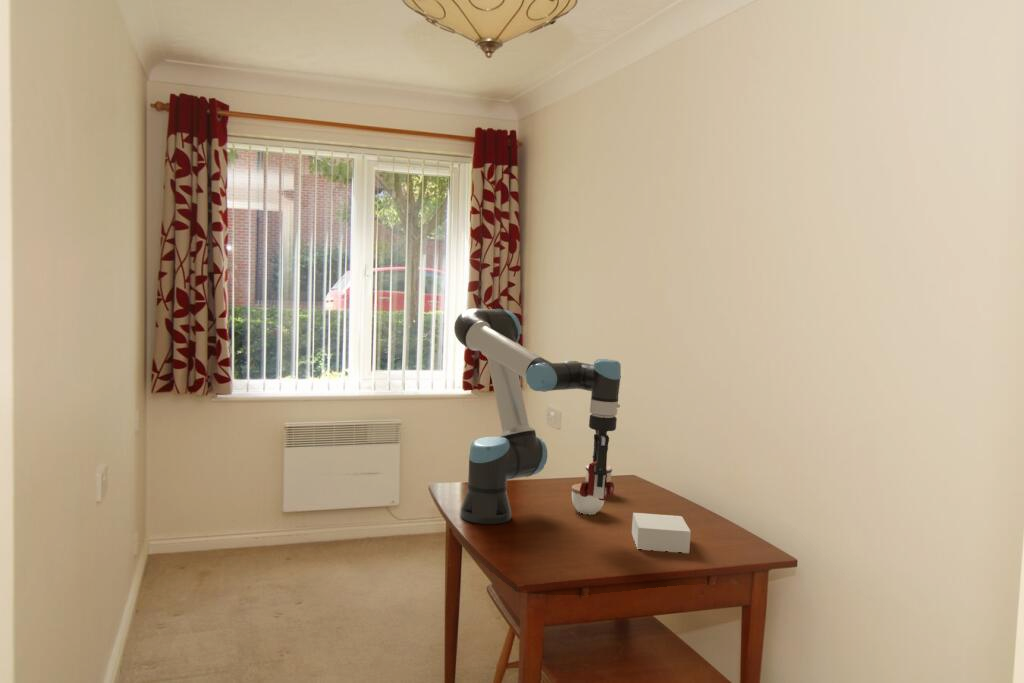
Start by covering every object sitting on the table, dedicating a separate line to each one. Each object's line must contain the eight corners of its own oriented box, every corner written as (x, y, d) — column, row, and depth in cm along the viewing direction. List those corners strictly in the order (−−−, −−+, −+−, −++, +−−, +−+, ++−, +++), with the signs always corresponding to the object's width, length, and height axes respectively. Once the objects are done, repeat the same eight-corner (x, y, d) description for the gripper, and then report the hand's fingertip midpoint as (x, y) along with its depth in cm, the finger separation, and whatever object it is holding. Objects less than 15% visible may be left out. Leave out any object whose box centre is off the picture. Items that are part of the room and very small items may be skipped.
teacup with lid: (589, 488, 265) (591, 455, 264) (614, 492, 261) (616, 459, 260) (576, 495, 254) (579, 461, 253) (602, 500, 250) (604, 465, 249)
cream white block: (637, 549, 203) (638, 527, 203) (631, 532, 217) (633, 512, 217) (689, 553, 202) (690, 531, 202) (680, 536, 216) (681, 516, 216)
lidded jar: (603, 508, 240) (605, 479, 240) (604, 518, 230) (606, 488, 229) (570, 505, 241) (572, 477, 241) (569, 515, 231) (571, 485, 230)
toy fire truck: (615, 493, 214) (618, 458, 213) (600, 503, 203) (603, 466, 202) (593, 489, 217) (596, 453, 216) (576, 498, 206) (579, 461, 205)
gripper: (620, 424, 196) (613, 505, 198) (613, 408, 220) (607, 481, 222) (592, 421, 197) (585, 502, 198) (587, 406, 220) (581, 479, 222)
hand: (596, 491), depth 210 cm, fingers closed on toy fire truck, 11 cm apart
